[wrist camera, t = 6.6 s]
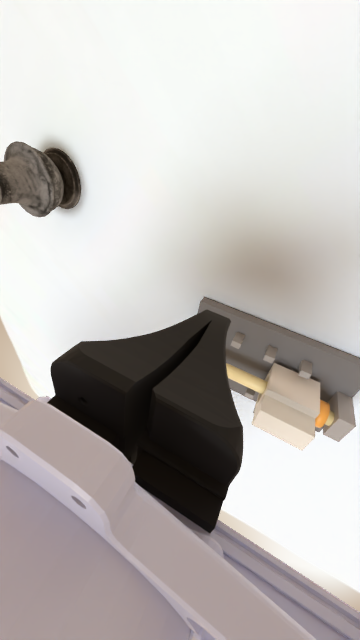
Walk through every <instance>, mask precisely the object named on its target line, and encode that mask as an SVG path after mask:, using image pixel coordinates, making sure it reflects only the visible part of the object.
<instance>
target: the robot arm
mask: <svg viewBox="0 0 360 640" xmlns="http://www.w3.org/2000/svg"><path fill="white" fill-rule="evenodd" d="M230 323H231V320H230V319H229V318H227V317H224V316H222V315H220V314H217V313H215V312H212V311H210V310H204V311H202V312H200V313H198V314H197V315H195V316H193V317H191V318H189V319H187V320H185V321H182V322H180V323H178V324H176V325H173V326H171V327H168V328H166V329H163V330H160V331H157V332H154V333H150V334H146V335H142V336H137V337H132V338H126V339H119V340H109V341H85V342H80V343H78V344H77V345H75V346H74V347H73V348H71V349H70V350H69V351H67V352H66V353H64V354H63V355H62V356H60V357H59V358H58V359H56V360H55V361H54V362H53V363H52V365H51V377H52V381H53V385H54V390H55V394H56V395H55V396H54V397H53V398H52V399H51V398H50V397H48V396H46V397H39V398H37V399H36V400H34V399H32V398H31V397H30V396H28V395H26V394H25V393H23V392H22V391H20V390H19V389H17V388H16V387H14V386H13V385H11V384H10V383H8V382H7V381H5V380H4V379H2V378H0V640H360V612H358V611H357V610H355V609H354V608H352V607H351V606H349V605H348V604H346V603H345V602H343V601H342V600H340V599H339V598H337V597H336V596H334V595H332V594H331V593H329V592H328V591H326V590H325V589H323V588H322V587H320V586H319V585H317V584H315V583H314V582H313V581H311V580H309V579H308V578H306V577H305V576H303V575H302V574H300V573H299V572H297V571H296V570H294V569H293V568H291V567H290V566H288V565H287V564H285V563H283V562H282V561H280V560H279V559H277V558H276V557H274V556H273V555H271V554H270V553H268V552H267V551H265V550H264V549H262V548H261V547H259V546H257V545H256V544H254V543H253V542H251V541H250V540H248V539H247V538H245V537H244V536H242V535H241V534H239V533H237V532H236V531H234V530H233V529H231V528H230V527H228V526H227V525H225V524H224V523H222V522H221V521H219V520H218V516H219V513H220V510H221V506H222V503H223V500H224V499H225V497H226V494H227V491H228V487H229V485H230V483H231V482H232V481H233V479H234V478H235V476H236V475H237V474H238V472H239V470H240V467H241V463H242V455H243V427H242V424H241V422H240V419H239V416H238V414H237V411H236V408H235V405H234V401H233V398H232V394H231V390H230V386H229V381H228V375H227V368H226V336H227V331H228V329H229V326H230Z"/></svg>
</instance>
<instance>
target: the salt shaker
mask: <svg viewBox="0 0 360 640" xmlns="http://www.w3.org/2000/svg"><path fill="white" fill-rule="evenodd" d="M80 193H81V185H80V179H79V175H78V172H77V170H76V168H75V165H74V164H73V162H72V161H71V159H70V158H69V157H68V156H67V155H66V154H65V153H64V152H63V151H61V150H59V149H56V148H50V149H47V150H46V151H45V152H44V153H42V152H40V151H39V150H37V149H35V148H32V147H31V146H29V145H27V144H25V143H23V142H14V143H11V144H10V145H9V146H8V147H7V149H6V152H5V155H4V162H0V204H8V203H19V204H20V205H21V207H23V208H24V209H25V210H26V211H27V212H28V213H30V214H31V215H33V216H36V217H44V216H46V215H48V214H49V213H50V212H51V211H52V210H54V209H55V208H56V207H57V206H59V207H61V208H65V209H69V208H73V207H74V206H76V204H77V203H78V201H79V198H80Z"/></svg>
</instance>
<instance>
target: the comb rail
mask: <svg viewBox="0 0 360 640" xmlns="http://www.w3.org/2000/svg"><path fill="white" fill-rule="evenodd" d="M204 310H210V311H212V312H215V313H217V314H220V315H222V316H224V317H227V318H229V319H230V320H231V323H230V326H229V329H228V331H227V336H226V368H227V375H228V381H229V386H230V389H231V390H234V391H236V392H238V393H240V394H242V395H244V396H245V397H247V398H249V399H251V400H254V401H257V398H258V394H259V393H261V394H263V393H264V391H265V390H266V387H267V383H268V382H267V381H265V378H266V376H267V374H268V373H269V371H270V369H271V367H272V366H273V364H274V363H276V364H278V365H281V366H283V367H285V368H287V369H290V370H292V371H294V372H297V373H298V375H299V376H301V377H304V378H306V379H309V378H310V379H313V380H315V381H317V382H320V414H319V415H318V416H317V417H316V418H315V431H317V432H320V431H321V430H322V429H323V435H325V436H328V437H330V438H332V439H334V440H336V441H338V442H339V441H340V440H341V439H342V438H343V437H344V436H346V435H347V434H348V433H349V432H350V431H351V430H352V429H353V428H354V427H356V424H355V416H354V408H353V400H352V397H353V396H354V395H355V394H356V393H357V392H358V391H359V390H360V358H358V357H356V356H353V355H351V354H348V353H345V352H343V351H340V350H338V349H335V348H333V347H330V346H328V345H325V344H323V343H320V342H317V341H315V340H312V339H310V338H307V337H305V336H302V335H300V334H297V333H295V332H292V331H289V330H287V329H284V328H282V327H279V326H277V325H274V324H272V323H269V322H267V321H264V320H261V319H259V318H256V317H254V316H251V315H249V314H246V313H244V312H241V311H239V310H236V309H234V308H231V307H228V306H226V305H223V304H221V303H218V302H216V301H213V300H211V299H208V298H206V297H204V298H203V299H202V301H201V302H200V306H199V310H198V313H200V312H202V311H204Z"/></svg>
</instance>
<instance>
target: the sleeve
mask: <svg viewBox="0 0 360 640" xmlns="http://www.w3.org/2000/svg"><path fill="white" fill-rule="evenodd" d="M265 381H267V382H268V383H267V387H266V390H265V391H264V393H263V394H261V393H259V394H258V398H257V401H256V405H255V408H254V412H253V413H254V417H253V421H252V425H254V426H256V427H258V428H260V429H262V430H264V431H265V432H267V433H269V434H271V435H273V436H275V437H277V438H279V439H281V440H283V441H285V442H287V443H289V444H291V445H292V446H294V447H296V448H298V449H300V450H303V449H304V448H305V447H306V446H307V445H308V444H309V443H310V442H311V441H312V440H313V439H314V438H315V418H316V417H317V416H318V415H319V414H320V382H317V381H315V380H313V379H310V378H309V379H306V378H304V377H301V376H299V375H298V373H297V372H294V371H292V370H290V369H287V368H285V367H283V366H281V365H278V364H276V363H274V364H273V366H272V367H271V369H270V371H269V373H268V374H267V376H266V378H265Z"/></svg>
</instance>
